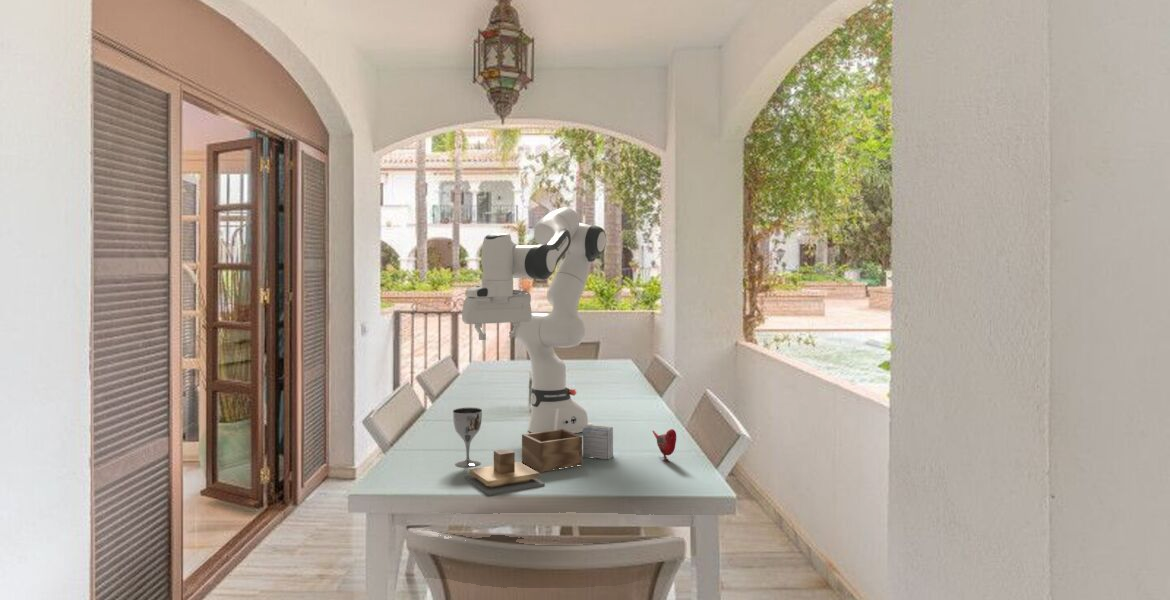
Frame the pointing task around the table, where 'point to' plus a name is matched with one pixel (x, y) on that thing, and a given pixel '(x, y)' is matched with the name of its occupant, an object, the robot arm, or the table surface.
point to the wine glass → (467, 430)
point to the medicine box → (598, 442)
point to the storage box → (551, 450)
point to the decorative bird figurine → (666, 442)
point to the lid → (504, 470)
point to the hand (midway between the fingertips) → (497, 338)
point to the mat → (504, 488)
